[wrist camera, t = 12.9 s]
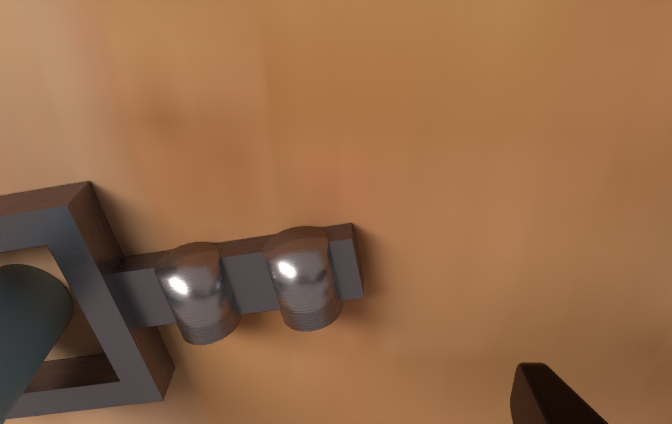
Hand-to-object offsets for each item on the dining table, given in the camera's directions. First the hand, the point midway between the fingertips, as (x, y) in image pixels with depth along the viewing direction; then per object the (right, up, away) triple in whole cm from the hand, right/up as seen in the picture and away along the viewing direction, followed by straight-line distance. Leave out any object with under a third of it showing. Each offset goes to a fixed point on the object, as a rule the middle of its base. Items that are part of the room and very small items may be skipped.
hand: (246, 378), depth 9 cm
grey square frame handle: (-13, -1, +16) cm, 20 cm away
